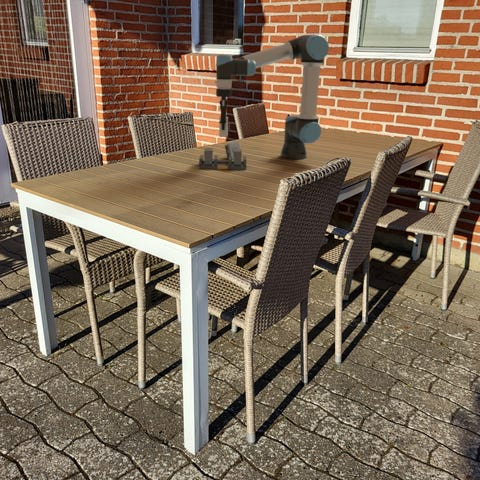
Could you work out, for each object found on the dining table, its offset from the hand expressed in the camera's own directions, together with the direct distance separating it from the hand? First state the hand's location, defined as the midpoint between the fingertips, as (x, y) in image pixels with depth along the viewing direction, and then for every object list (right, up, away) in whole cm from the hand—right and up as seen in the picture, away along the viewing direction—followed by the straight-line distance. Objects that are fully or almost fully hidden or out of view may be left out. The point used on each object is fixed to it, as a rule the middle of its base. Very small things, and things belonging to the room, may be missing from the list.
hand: (223, 135), depth 242 cm
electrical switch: (+5, -8, +26) cm, 27 cm away
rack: (0, -15, +6) cm, 16 cm away
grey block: (0, 0, 0) cm, 0 cm away
